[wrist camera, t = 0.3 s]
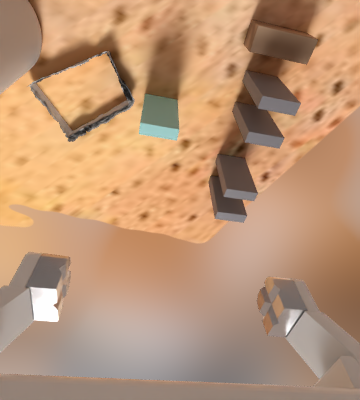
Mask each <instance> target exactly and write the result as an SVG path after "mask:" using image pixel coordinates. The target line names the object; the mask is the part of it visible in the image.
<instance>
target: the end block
mask: <svg viewBox="0 0 360 400" xmlns="http://www.w3.org/2000/svg"><path fill="white" fill-rule="evenodd" d="M317 41H318V39H316V38H314V37H313V36H311V35H309V34H307V33H304V32H300V31H296V30H292V29H288V28H284V27H280V26H276V25H271V24H267V23H263V22H259V21H255V20H251V23H250V26H249V29H248V32H247V36H246V39H245V42H244V45H245V46H246V48H247V49H248V50H249V51H250V52H253V53H257V54H262V55H266V56H271V57H275V58H280V59H284V60H289V61H293V62H297V63H302V64H306V65H307V63H308V61H309V59H310V57H311V55H312V52H313V50H314V48H315V46H316V44H317Z"/></svg>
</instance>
